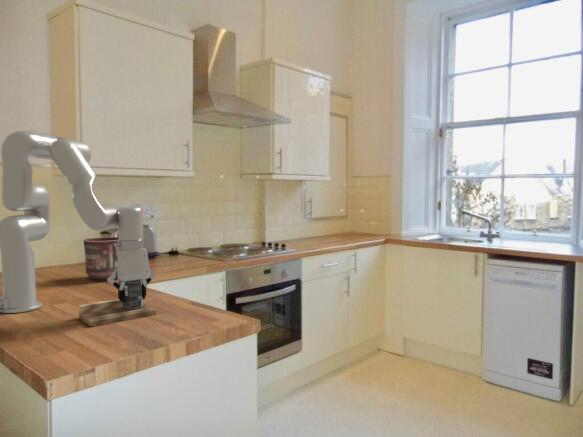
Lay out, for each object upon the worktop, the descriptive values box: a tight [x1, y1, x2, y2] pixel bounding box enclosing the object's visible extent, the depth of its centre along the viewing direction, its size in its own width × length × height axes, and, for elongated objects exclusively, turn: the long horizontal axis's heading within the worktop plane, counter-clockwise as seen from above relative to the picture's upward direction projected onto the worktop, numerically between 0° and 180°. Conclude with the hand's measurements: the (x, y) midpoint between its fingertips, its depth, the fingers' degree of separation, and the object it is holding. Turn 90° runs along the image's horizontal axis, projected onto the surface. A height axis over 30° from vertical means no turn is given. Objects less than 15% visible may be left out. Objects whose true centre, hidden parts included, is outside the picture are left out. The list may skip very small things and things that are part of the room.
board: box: [78, 298, 157, 327], centre depth 143 cm, size 20×12×4 cm, turn 130°
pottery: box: [83, 236, 119, 282], centre depth 202 cm, size 18×18×18 cm
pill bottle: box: [123, 280, 142, 309], centre depth 146 cm, size 6×6×11 cm
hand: (132, 299), depth 147 cm, fingers closed on pill bottle, 5 cm apart
